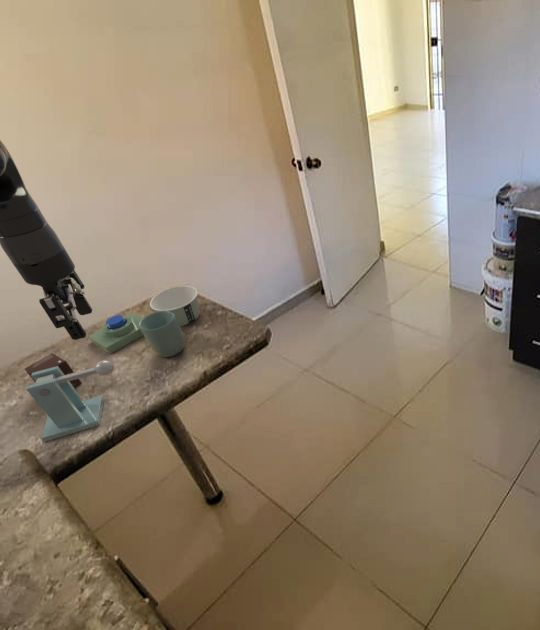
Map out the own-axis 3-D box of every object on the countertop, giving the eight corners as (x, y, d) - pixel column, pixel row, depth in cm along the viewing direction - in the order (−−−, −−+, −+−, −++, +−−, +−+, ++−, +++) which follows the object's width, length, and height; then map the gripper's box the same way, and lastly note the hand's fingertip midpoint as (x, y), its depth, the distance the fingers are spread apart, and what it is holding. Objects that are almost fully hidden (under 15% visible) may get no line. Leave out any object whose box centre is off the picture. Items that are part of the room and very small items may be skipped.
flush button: (114, 331, 111) (110, 326, 110) (106, 326, 113) (102, 321, 112) (129, 323, 114) (126, 318, 113) (121, 318, 116) (118, 313, 115)
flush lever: (117, 366, 92) (110, 355, 90) (116, 375, 90) (108, 364, 88) (45, 386, 88) (36, 374, 86) (41, 396, 86) (32, 385, 84)
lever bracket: (104, 399, 97) (75, 357, 90) (99, 424, 92) (68, 382, 84) (52, 414, 94) (17, 372, 87) (44, 442, 88) (5, 399, 81)
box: (69, 374, 104) (52, 352, 100) (82, 383, 102) (66, 360, 97) (41, 391, 100) (23, 368, 96) (55, 400, 97) (36, 377, 93)
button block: (109, 354, 110) (102, 342, 107) (92, 342, 114) (84, 330, 111) (154, 328, 118) (148, 317, 115) (136, 318, 122) (130, 307, 119)
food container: (214, 308, 124) (207, 289, 120) (182, 333, 115) (173, 314, 111) (182, 301, 128) (174, 282, 124) (149, 324, 119) (139, 305, 115)
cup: (195, 345, 111) (181, 314, 105) (170, 365, 106) (154, 333, 100) (174, 338, 114) (159, 307, 108) (148, 356, 108) (131, 325, 102)
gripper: (21, 239, 79) (67, 311, 89) (-2, 276, 68) (53, 352, 78) (69, 230, 81) (109, 301, 91) (54, 265, 71) (101, 340, 81)
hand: (83, 325), depth 85 cm, fingers open, 8 cm apart
